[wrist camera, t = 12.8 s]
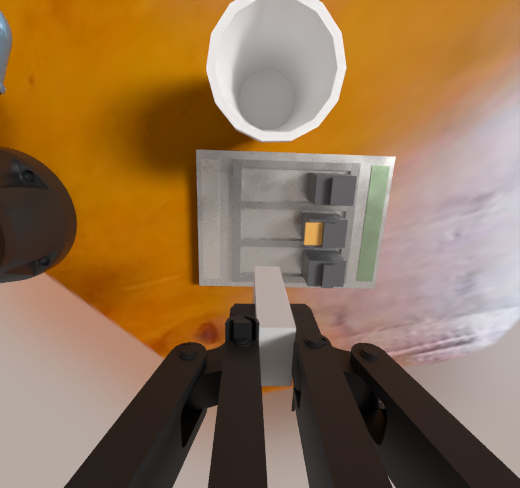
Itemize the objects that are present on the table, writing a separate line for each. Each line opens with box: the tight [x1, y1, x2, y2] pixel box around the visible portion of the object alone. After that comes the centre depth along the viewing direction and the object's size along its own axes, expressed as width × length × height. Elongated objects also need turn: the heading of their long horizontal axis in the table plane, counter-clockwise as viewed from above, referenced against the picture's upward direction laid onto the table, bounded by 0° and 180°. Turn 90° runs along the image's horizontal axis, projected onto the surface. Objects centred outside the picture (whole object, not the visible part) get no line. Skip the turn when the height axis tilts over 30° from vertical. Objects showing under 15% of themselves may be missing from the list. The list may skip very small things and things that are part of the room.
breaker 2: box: [301, 212, 348, 248], centre depth 33 cm, size 4×3×5 cm
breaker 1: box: [307, 172, 357, 206], centre depth 32 cm, size 4×3×5 cm
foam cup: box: [206, 0, 346, 142], centre depth 26 cm, size 10×9×13 cm
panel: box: [196, 149, 395, 289], centre depth 36 cm, size 22×16×2 cm
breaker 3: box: [301, 249, 347, 288], centre depth 34 cm, size 4×3×5 cm
